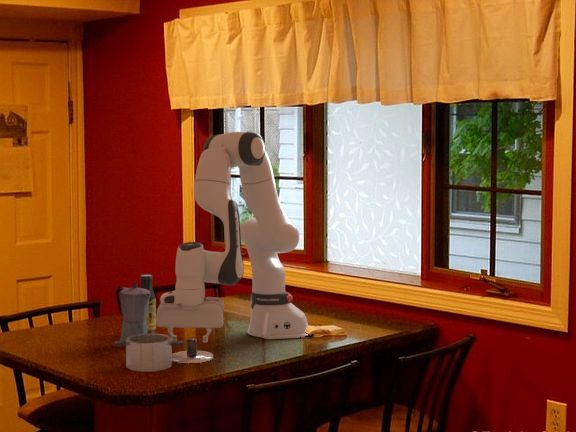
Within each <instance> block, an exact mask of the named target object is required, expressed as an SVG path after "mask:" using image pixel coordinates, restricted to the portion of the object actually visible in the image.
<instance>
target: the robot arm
mask: <svg viewBox="0 0 576 432" xmlns="http://www.w3.org/2000/svg"><path fill="white" fill-rule="evenodd" d="M198 159H199V160H198V164H197V168H196V171H195V172H196V173H195V177H194V185H193V197H194V200H195V202H196V204H197V205H198V206H199V207H200V208H201V209H203V210H204V211H206V212H207V213H210V214H211V215H213V216H215V217H217V218H219V219H220V220H221V221H222V223H223V228H224V230H223V231H224V243H225V245H224V246H225V250H224V251H211V250H206V249H204V245H203V244H202V243H201V242H198V241H189V242H188V241H187V242H183V243H181V244H180V245H178V246H177V247H178V248H177V251H176V255H175V257H176V258H175V268H174V269H175V271H174V272H175V276H176V282H175V288H174V290H172V291H167V292H165V293H163V294H161V296H160V299H159V302H160V303H159V305H158V307H157V308H156V327H157V328H167V332H168V335H169V336H170V337H172V341H178V340H177V336H178V335H175V334H174V333H173V330H174V328H175V329H176V328H183V329H185V328H187V329H188V328H191V329H192V328H193V329H198V328H199V329H206V332H207V333H206V334H205V335H202V343H208V342H209V336H210V335H211V332H212V329H221V328H222V327H223V325H224V314H223V312H224V310H225V306H226V305H225V303H226V302H225V300H224V299H222V298H221V297H220V296H215V297H213V296H205V295H206V287H205V286H206V285H205V283H211V284H220V285H224V286H228V287H229V286H230V287H231V286H232V287H233V286H234V285H236V284H237V283H238V282H240V280H242V278H243V276H244V274H245V273H244V272H245V266H244V265H245V264H244V259H243V254H242V243H243V244H244V246H245V248H246V250H247V254H248V257H249V258H248V259H249V262H250V266H251V281H252V282H251V283H252V288H251V289H252V291H251V292H250V308H251V313H250V321H249V325H248V328H247V334H248V335H250V336H253V337H257V338H263V339H265V340H277V339H280V340H281V339H296V338H297V339H298V338H300V337H301V338H306V337H305V336H308V334H306V333H305V330H306V328H307V327H308V326H309V324H308V323H309V322H308V319H307V317H306V314H305V313H304V312H303V311H302V310H301V309H300V308H298V307H296V305H294V304H293V303H292V301H293V299H294V298H293V295H292V294H291V293H289V292H288V291H286V269H285V266H284V265H283V263H282V262H281V261H280V258H279V255H278V254H285V253H290V252H292V251H294V250H295V249H296V247H297V246H298V245H299V242H300V232H299V229H298V228H297V227H296V226H295V225H294V224H293V223H292V221H291V220H290V219H289V217H288V215H287V212H286V211H285V210H284V207H283V205H282V202H281V201H280V197H279V195H278V190H277V185H276V180H275V176H274V171H273V170H274V169H273V167H272V165H271V161H270V158H269V156H268V153H267V149H266V143H265V140H264V138H263V137H262V135H260V134H259V133H257V132H254V131H232V132H227V133H222V134H220V133H219V134H214V135H211V136H209V137H207V139H206V140H205V142H204V144H203V147H202V152H201V154H200V156H199V158H198ZM233 168H238V171H239V178H240V179H239V180H240V184H241V188H242V189H241V190H242V194H243V198H244V203H245V206H246V207H247V209H248V210H249V211H250V212H251V213H252V215H253V216H254V217H250V218H247V219H246V220H244V221H243V222H242V223H241V220H240V211H239V206H238V204H237V202H236V201H235V200H233V198H232V195H231V177H232V169H233Z"/></svg>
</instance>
